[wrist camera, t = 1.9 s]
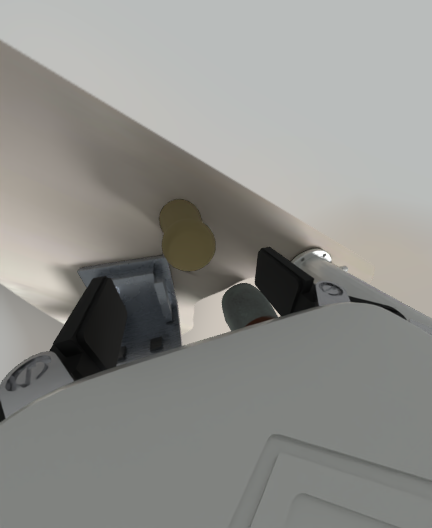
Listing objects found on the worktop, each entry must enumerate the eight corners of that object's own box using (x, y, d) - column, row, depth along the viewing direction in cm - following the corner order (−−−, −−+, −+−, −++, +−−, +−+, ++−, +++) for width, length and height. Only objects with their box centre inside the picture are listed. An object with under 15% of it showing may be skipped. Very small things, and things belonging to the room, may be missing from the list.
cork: (153, 203, 21) (145, 228, 12) (196, 195, 22) (220, 212, 13) (166, 244, 24) (167, 288, 15) (204, 235, 25) (226, 271, 16)
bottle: (254, 273, 32) (552, 608, 8) (261, 301, 38) (452, 558, 13) (212, 292, 32) (387, 723, 7) (225, 318, 37) (352, 622, 12)
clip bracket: (166, 254, 25) (168, 295, 17) (178, 308, 31) (183, 357, 23) (80, 267, 23) (31, 323, 14) (111, 323, 29) (90, 385, 20)
